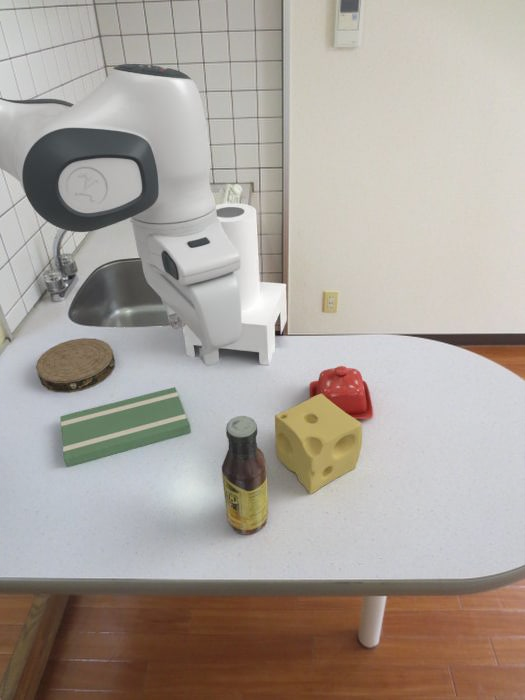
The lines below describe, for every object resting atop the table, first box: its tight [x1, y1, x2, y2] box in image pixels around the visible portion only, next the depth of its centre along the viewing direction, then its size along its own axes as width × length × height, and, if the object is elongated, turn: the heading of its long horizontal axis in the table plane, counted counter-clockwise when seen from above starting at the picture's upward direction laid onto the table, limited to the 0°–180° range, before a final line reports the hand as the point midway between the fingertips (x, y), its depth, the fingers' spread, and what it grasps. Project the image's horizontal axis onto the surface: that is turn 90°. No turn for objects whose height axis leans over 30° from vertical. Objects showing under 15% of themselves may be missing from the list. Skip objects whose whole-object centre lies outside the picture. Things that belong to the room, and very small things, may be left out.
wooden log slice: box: [35, 337, 116, 394], centre depth 113 cm, size 16×16×3 cm
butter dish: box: [309, 365, 374, 420], centre depth 99 cm, size 12×12×8 cm
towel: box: [60, 386, 192, 468], centre depth 97 cm, size 22×12×2 cm, turn 111°
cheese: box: [274, 394, 363, 495], centre depth 86 cm, size 10×11×10 cm
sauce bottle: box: [221, 415, 269, 535], centre depth 74 cm, size 7×6×20 cm
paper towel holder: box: [182, 202, 288, 366], centre depth 114 cm, size 19×19×30 cm
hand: (193, 342), depth 64 cm, fingers open, 8 cm apart
